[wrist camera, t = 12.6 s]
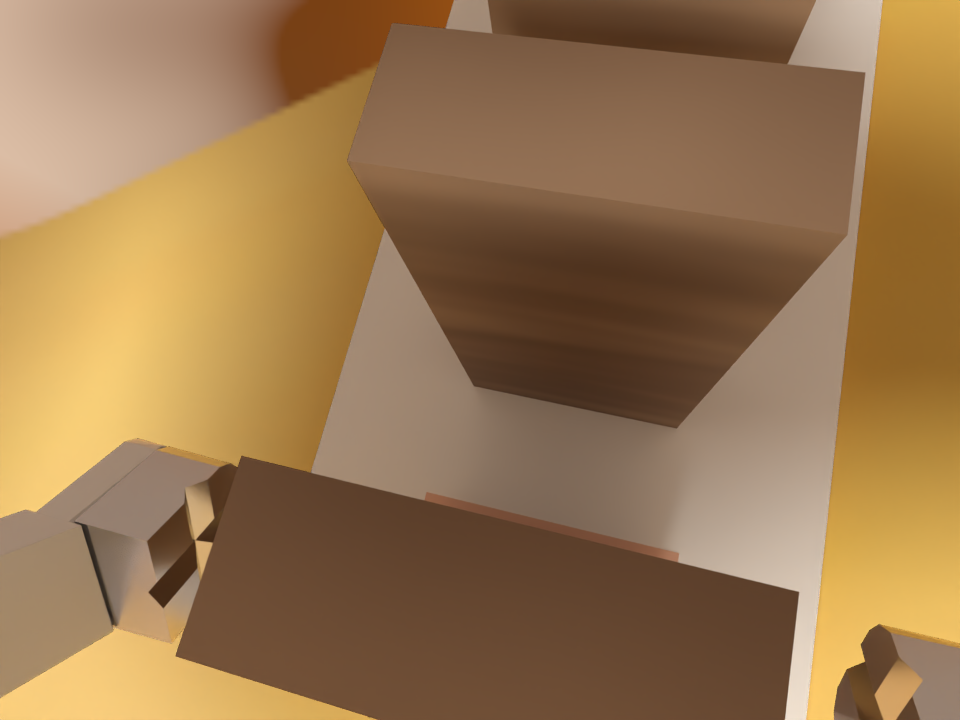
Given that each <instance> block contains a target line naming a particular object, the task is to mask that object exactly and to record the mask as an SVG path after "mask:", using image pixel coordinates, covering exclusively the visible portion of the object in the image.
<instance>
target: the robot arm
mask: <svg viewBox="0 0 960 720" xmlns="http://www.w3.org/2000/svg"><path fill="white" fill-rule="evenodd" d="M237 468H238V467H236V466H234V465H232V464H230V463H227V462H224V461H220V460H216V459H213V458H209V457H206V456H202V455H198V454H195V453H191V452H188V451H184V450H180V449H177V448H173V447H170V446H168V447H167V446H163V445H160V444H156V443H152V442H149V441H145V440H142V439H138V438H137V439H133V440H129V441H125V442H124V443H122V444H121V445H120V446H119V447H117V448H116V449H115V450H114V451H112V452H111V453H110V454H109V455H107V456H106V457H105V458H104V459H102V460H101V461H100V462H99V463H97V464H96V465H95V466H93V467H92V468H91V469H90V470H88V471H87V472H86V473H85V474H83V475H82V476H81V477H80V478H78V479H77V480H76V481H75V482H73V483H72V484H71V485H70V486H68V487H67V488H66V489H65V490H63V491H62V492H61V493H59V494H58V495H57V496H56V497H54V498H53V499H52V500H51V501H49V502H48V503H47V504H46V505H44V506H43V507H42V508H41V509H39V510H38V511H37V512H33V511H29V510H23V511H20V512H17V513H14V514H11V515H9V516H6V517H3V518H0V698H1V697H3V696H4V695H6V694H8V693H9V692H11V691H13V690H15V689H16V688H18V687H20V686H21V685H23V684H25V683H26V682H28V681H30V680H32V679H33V678H35V677H37V676H38V675H40V674H42V673H43V672H45V671H47V670H48V669H50V668H52V667H54V666H55V665H57V664H59V663H60V662H62V661H64V660H65V659H67V658H69V657H71V656H72V655H74V654H76V653H77V652H79V651H81V650H82V649H84V648H86V647H87V646H89V645H91V644H93V643H94V642H96V641H98V640H99V639H101V638H103V637H104V636H106V635H108V634H110V633H111V632H113V627H114V628H117V629H121V630H125V631H128V632H132V633H135V634H139V635H143V636H146V637H150V638H153V639H157V640H161V641H164V642H168V643H173V641H174V640H175V639H176V638H177V636H178V635H179V634H180V633H181V631H182V630H183V629H184V627H185V626H186V623H187V620H188V617H189V614H190V610H191V607H192V604H193V601H194V598H195V595H196V592H197V589H198V586H199V583H200V580H201V577H202V574H203V571H204V568H205V565H206V562H207V559H208V556H209V553H210V550H211V547H212V544H213V541H214V538H215V535H216V532H217V529H218V526H219V523H220V520H221V517H222V514H223V511H224V508H225V504H226V501H227V498H228V495H229V492H230V489H231V486H232V483H233V480H234V477H235V474H236V471H237ZM861 647H862V651H863V654H864V658H865V662H863V663H861V664H859V665H856V666H854V667H851V668H849V669H847V670H846V672H845V674H844V676H843V678H842V680H841V682H840V684H839V686H838V688H837V694H836V701H835V707H834V720H960V643H956V642H952V641H947V640H943V639H939V638H935V637H931V636H926V635H922V634H918V633H914V632H910V631H906V630H901V629H897V628H893V627H889V626H885V625H880V624H878V625H877V626H875V627H874V628H872V629H871V630H869V632H868V634H867V635H866V637H865V639H864V640H863V642H862V644H861Z"/></svg>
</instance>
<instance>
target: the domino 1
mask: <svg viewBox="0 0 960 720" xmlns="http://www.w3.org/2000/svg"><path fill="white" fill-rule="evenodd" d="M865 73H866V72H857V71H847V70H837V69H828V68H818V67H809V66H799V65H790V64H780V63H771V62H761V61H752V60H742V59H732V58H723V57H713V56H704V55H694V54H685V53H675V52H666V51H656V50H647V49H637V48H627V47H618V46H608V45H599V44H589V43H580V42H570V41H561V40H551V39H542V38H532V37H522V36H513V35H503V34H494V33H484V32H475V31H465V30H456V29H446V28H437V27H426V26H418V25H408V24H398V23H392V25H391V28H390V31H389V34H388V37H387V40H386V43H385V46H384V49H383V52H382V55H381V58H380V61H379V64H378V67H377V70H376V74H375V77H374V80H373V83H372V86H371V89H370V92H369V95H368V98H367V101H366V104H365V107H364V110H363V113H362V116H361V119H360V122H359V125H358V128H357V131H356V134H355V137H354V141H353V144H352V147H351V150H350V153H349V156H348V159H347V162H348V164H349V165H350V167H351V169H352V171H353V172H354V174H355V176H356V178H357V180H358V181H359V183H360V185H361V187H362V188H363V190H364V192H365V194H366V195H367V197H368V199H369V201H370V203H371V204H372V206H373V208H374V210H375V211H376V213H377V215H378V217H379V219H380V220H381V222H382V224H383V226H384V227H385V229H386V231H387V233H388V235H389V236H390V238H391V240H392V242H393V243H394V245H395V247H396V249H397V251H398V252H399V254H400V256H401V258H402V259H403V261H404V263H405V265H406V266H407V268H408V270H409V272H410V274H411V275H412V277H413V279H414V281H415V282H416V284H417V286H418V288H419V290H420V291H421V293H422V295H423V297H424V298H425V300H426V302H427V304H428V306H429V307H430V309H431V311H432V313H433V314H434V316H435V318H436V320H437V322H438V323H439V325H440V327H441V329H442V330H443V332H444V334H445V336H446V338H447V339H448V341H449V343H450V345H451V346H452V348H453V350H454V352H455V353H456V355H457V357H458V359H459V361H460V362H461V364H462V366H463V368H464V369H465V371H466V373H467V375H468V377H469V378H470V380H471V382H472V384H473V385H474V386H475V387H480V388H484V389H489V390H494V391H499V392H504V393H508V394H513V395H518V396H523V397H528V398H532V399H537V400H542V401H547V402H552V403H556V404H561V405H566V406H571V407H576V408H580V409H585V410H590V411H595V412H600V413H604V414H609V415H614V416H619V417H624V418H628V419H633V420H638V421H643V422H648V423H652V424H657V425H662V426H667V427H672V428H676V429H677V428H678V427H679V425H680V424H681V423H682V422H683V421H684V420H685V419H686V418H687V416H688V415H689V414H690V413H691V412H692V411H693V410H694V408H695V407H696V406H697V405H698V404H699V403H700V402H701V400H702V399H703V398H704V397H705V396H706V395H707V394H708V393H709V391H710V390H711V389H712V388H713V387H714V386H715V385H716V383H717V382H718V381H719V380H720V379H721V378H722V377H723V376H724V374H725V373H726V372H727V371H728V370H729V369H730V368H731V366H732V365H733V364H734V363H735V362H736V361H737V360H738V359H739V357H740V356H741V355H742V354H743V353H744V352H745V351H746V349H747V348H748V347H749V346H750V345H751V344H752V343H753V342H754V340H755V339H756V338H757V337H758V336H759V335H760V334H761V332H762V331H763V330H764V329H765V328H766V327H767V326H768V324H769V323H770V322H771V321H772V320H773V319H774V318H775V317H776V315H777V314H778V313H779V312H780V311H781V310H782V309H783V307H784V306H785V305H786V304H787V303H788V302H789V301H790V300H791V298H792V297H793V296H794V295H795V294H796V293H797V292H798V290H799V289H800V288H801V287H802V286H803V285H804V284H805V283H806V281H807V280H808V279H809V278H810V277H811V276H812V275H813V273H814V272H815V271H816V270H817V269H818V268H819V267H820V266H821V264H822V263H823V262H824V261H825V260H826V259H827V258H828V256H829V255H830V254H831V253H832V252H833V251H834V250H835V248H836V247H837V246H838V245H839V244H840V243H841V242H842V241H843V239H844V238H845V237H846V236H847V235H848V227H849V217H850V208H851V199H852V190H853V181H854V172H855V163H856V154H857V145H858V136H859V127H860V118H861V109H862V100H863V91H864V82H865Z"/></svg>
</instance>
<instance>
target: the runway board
mask: <svg viewBox="0 0 960 720" xmlns="http://www.w3.org/2000/svg"><path fill="white" fill-rule="evenodd" d="M882 2H883V0H816V2H815V4H814V7H813V9H812V11H811V13H810V15H809V18H808V20H807V22H806V24H805V27H804V29H803V31H802V33H801V35H800V38H799V40H798V42H797V44H796V47H795V49H794V51H793V53H792V55H791V58H790V60H789V62H788V64H790V65H799V66H809V67H818V68H828V69H837V70H847V71H857V72H866V73H865V82H864V91H863V100H862V109H861V118H860V127H859V136H858V145H857V154H856V163H855V172H854V181H853V190H852V199H851V208H850V217H849V227H848V235H847V236H846V237H845V238H844V239H843V241H842V242H841V243H840V244H839V245H838V246H837V247H836V248H835V250H834V251H833V252H832V253H831V254H830V255H829V256H828V258H827V259H826V260H825V261H824V262H823V263H822V264H821V266H820V267H819V268H818V269H817V270H816V271H815V272H814V273H813V275H812V276H811V277H810V278H809V279H808V280H807V281H806V283H805V284H804V285H803V286H802V287H801V288H800V289H799V290H798V292H797V293H796V294H795V295H794V296H793V297H792V298H791V300H790V301H789V302H788V303H787V304H786V305H785V306H784V307H783V309H782V310H781V311H780V312H779V313H778V314H777V315H776V317H775V318H774V319H773V320H772V321H771V322H770V323H769V324H768V326H767V327H766V328H765V329H764V330H763V331H762V332H761V334H760V335H759V336H758V337H757V338H756V339H755V340H754V342H753V343H752V344H751V345H750V346H749V347H748V348H747V349H746V351H745V352H744V353H743V354H742V355H741V356H740V357H739V359H738V360H737V361H736V362H735V363H734V364H733V365H732V366H731V368H730V369H729V370H728V371H727V372H726V373H725V374H724V376H723V377H722V378H721V379H720V380H719V381H718V382H717V383H716V385H715V386H714V387H713V388H712V389H711V390H710V391H709V393H708V394H707V395H706V396H705V397H704V398H703V399H702V400H701V402H700V403H699V404H698V405H697V406H696V407H695V408H694V410H693V411H692V412H691V413H690V414H689V415H688V416H687V418H686V419H685V420H684V421H683V422H682V423H681V424H680V425H679V427H678V428H677V429H676V428H672V427H667V426H662V425H657V424H652V423H648V422H643V421H638V420H633V419H628V418H624V417H619V416H614V415H609V414H604V413H600V412H595V411H590V410H585V409H580V408H576V407H571V406H566V405H561V404H556V403H552V402H547V401H542V400H537V399H532V398H528V397H523V396H518V395H513V394H508V393H504V392H499V391H494V390H489V389H484V388H480V387H475V386H474V385H473V384H472V382H471V380H470V378H469V377H468V375H467V373H466V371H465V369H464V368H463V366H462V364H461V362H460V361H459V359H458V357H457V355H456V353H455V352H454V350H453V348H452V346H451V345H450V343H449V341H448V339H447V338H446V336H445V334H444V332H443V330H442V329H441V327H440V325H439V323H438V322H437V320H436V318H435V316H434V314H433V313H432V311H431V309H430V307H429V306H428V304H427V302H426V300H425V298H424V297H423V295H422V293H421V291H420V290H419V288H418V286H417V284H416V282H415V281H414V279H413V277H412V275H411V274H410V272H409V270H408V268H407V266H406V265H405V263H404V261H403V259H402V258H401V256H400V254H399V252H398V251H397V249H396V247H395V245H394V243H393V242H392V240H391V238H390V236H389V235H388V233H387V231H386V229H384V233H383V236H382V239H381V243H380V246H379V249H378V252H377V256H376V259H375V262H374V266H373V269H372V272H371V276H370V279H369V282H368V285H367V289H366V292H365V295H364V299H363V302H362V305H361V309H360V312H359V315H358V318H357V322H356V325H355V328H354V332H353V335H352V338H351V341H350V345H349V348H348V351H347V355H346V358H345V361H344V365H343V368H342V371H341V374H340V378H339V381H338V384H337V388H336V391H335V394H334V398H333V401H332V404H331V407H330V411H329V414H328V417H327V421H326V424H325V427H324V430H323V434H322V437H321V440H320V444H319V447H318V450H317V454H316V457H315V460H314V463H313V467H312V470H311V473H314V474H318V475H322V476H326V477H330V478H334V479H338V480H343V481H347V482H351V483H355V484H359V485H363V486H367V487H371V488H375V489H379V490H384V491H388V492H392V493H396V494H400V495H404V496H408V497H412V498H416V499H420V500H425V501H429V502H433V503H437V504H441V505H445V506H449V507H453V508H457V509H461V510H466V511H470V512H474V513H478V514H482V515H486V516H490V517H494V518H498V519H502V520H507V521H511V522H515V523H519V524H523V525H527V526H531V527H535V528H539V529H543V530H548V531H552V532H556V533H560V534H564V535H568V536H572V537H576V538H580V539H584V540H589V541H593V542H597V543H601V544H605V545H609V546H613V547H617V548H621V549H625V550H630V551H634V552H638V553H642V554H646V555H650V556H654V557H658V558H662V559H666V560H671V561H675V562H679V563H683V564H687V565H691V566H695V567H699V568H703V569H707V570H712V571H716V572H720V573H724V574H728V575H732V576H736V577H740V578H744V579H748V580H753V581H757V582H761V583H765V584H769V585H773V586H777V587H781V588H785V589H789V590H794V591H798V592H799V599H798V608H797V617H796V626H795V635H794V644H793V653H792V662H791V670H790V679H789V688H788V697H787V706H786V715H785V720H806V715H807V706H808V697H809V687H810V678H811V668H812V659H813V650H814V640H815V631H816V621H817V612H818V603H819V593H820V584H821V575H822V565H823V556H824V546H825V537H826V528H827V518H828V509H829V499H830V490H831V481H832V471H833V462H834V452H835V443H836V434H837V424H838V415H839V405H840V396H841V387H842V377H843V368H844V359H845V349H846V340H847V330H848V321H849V312H850V302H851V293H852V283H853V274H854V265H855V255H856V246H857V236H858V227H859V218H860V208H861V199H862V189H863V180H864V171H865V161H866V152H867V143H868V133H869V124H870V114H871V105H872V96H873V86H874V77H875V67H876V58H877V49H878V39H879V30H880V20H881V11H882ZM446 29H456V30H465V31H475V32H484V33H492V27H491V20H490V13H489V6H488V0H454V2H453V5H452V9H451V12H450V15H449V18H448V22H447V25H446Z"/></svg>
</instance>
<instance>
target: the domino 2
mask: <svg viewBox="0 0 960 720" xmlns="http://www.w3.org/2000/svg"><path fill="white" fill-rule="evenodd" d="M798 599H799V592H798V591H794V590H789V589H785V588H781V587H777V586H773V585H769V584H765V583H761V582H757V581H753V580H748V579H744V578H740V577H736V576H732V575H728V574H724V573H720V572H716V571H712V570H707V569H703V568H699V567H695V566H691V565H687V564H683V563H679V562H675V561H671V560H666V559H662V558H658V557H654V556H650V555H646V554H642V553H638V552H634V551H630V550H625V549H621V548H617V547H613V546H609V545H605V544H601V543H597V542H593V541H589V540H584V539H580V538H576V537H572V536H568V535H564V534H560V533H556V532H552V531H548V530H543V529H539V528H535V527H531V526H527V525H523V524H519V523H515V522H511V521H507V520H502V519H498V518H494V517H490V516H486V515H482V514H478V513H474V512H470V511H466V510H461V509H457V508H453V507H449V506H445V505H441V504H437V503H433V502H429V501H425V500H420V499H416V498H412V497H408V496H404V495H400V494H396V493H392V492H388V491H384V490H379V489H375V488H371V487H367V486H363V485H359V484H355V483H351V482H347V481H343V480H338V479H334V478H330V477H326V476H322V475H318V474H314V473H310V472H306V471H302V470H297V469H293V468H289V467H285V466H281V465H277V464H273V463H269V462H265V461H261V460H256V459H252V458H248V457H244V456H241V459H240V462H239V465H238V468H237V471H236V474H235V477H234V480H233V483H232V486H231V489H230V492H229V495H228V498H227V501H226V504H225V508H224V511H223V514H222V517H221V520H220V523H219V526H218V529H217V532H216V535H215V538H214V541H213V544H212V547H211V550H210V553H209V556H208V559H207V562H206V565H205V568H204V571H203V574H202V577H201V580H200V583H199V586H198V589H197V592H196V595H195V598H194V601H193V604H192V607H191V610H190V614H189V617H188V620H187V623H186V626H185V629H184V632H183V635H182V638H181V641H180V644H179V647H178V650H177V653H176V657H180V658H183V659H186V660H189V661H192V662H196V663H199V664H202V665H205V666H208V667H211V668H215V669H218V670H221V671H224V672H227V673H231V674H234V675H237V676H240V677H243V678H247V679H250V680H253V681H256V682H259V683H263V684H266V685H269V686H272V687H275V688H279V689H282V690H285V691H288V692H291V693H295V694H298V695H301V696H304V697H307V698H311V699H314V700H317V701H320V702H323V703H327V704H330V705H333V706H336V707H339V708H342V709H346V710H349V711H352V712H355V713H358V714H362V715H365V716H368V717H371V718H374V719H378V720H785V715H786V706H787V697H788V688H789V679H790V670H791V662H792V653H793V644H794V635H795V626H796V617H797V608H798Z"/></svg>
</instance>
